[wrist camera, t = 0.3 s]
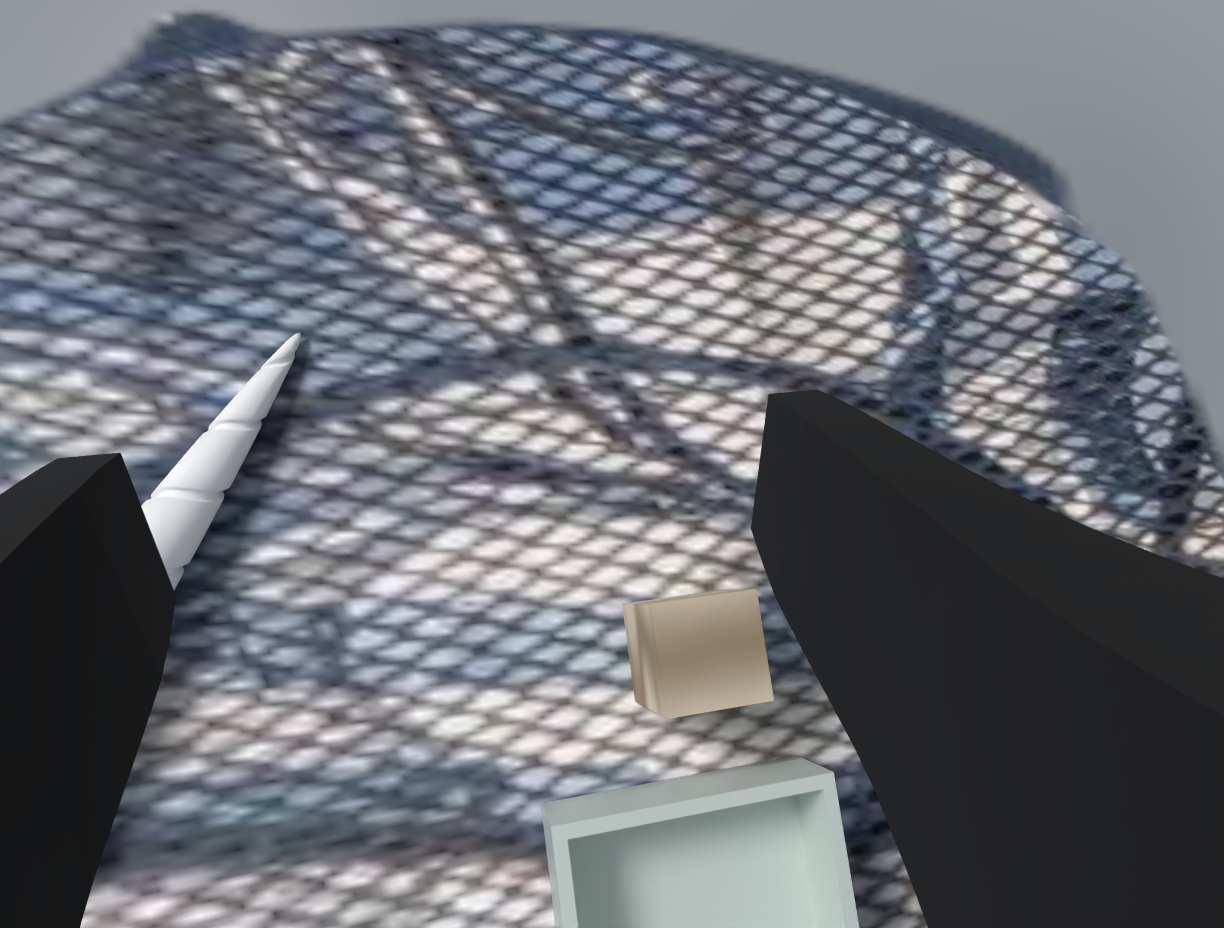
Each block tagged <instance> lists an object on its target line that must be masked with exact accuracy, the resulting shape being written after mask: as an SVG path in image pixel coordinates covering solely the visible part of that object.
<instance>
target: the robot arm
mask: <svg viewBox="0 0 1224 928" xmlns="http://www.w3.org/2000/svg"><path fill="white" fill-rule="evenodd" d="M751 530H752V533H753V536H754V539H755V542H756V545H757V548H758V551H759V554H760V557H761V560H762V563H763V565H764V568H765V571H766V573H767V576H768V579H769V581H770V584H771V587H772V589H773V592H774V595H775V597H776V599H777V601H778V603H779V605H780V607H781V609H782V611H783V613H784V615H785V617H786V619H787V621H788V623H789V625H790V627H791V629H792V631H793V632H794V634H795V636H796V638H797V640H798V642H799V644H800V646H801V648H802V650H803V652H804V654H805V655H806V657H807V659H808V661H809V663H810V665H811V667H812V669H813V670H814V672H815V674H816V676H817V678H818V680H819V682H820V684H821V686H822V687H823V689H824V691H825V693H826V695H827V697H828V699H829V701H830V702H831V704H832V706H833V708H834V710H835V712H836V714H837V716H838V718H839V719H840V721H841V723H842V725H843V727H844V729H845V731H846V733H847V734H848V736H849V738H850V740H851V742H852V744H853V746H854V748H855V750H856V752H857V754H858V756H859V758H860V760H861V762H862V764H863V766H864V768H865V771H866V773H867V775H868V777H869V779H870V781H871V783H872V785H873V788H874V790H875V792H876V795H877V797H878V800H879V802H880V805H881V807H882V810H883V812H884V815H885V817H886V820H887V822H888V825H889V827H890V830H891V832H892V835H893V837H894V840H895V842H896V845H897V847H898V849H899V852H900V854H901V857H902V859H903V862H904V864H905V867H906V870H907V872H908V875H909V878H910V880H911V883H912V886H913V888H914V891H915V893H916V896H917V899H918V901H919V904H920V907H921V909H922V912H923V915H924V917H925V920H926V923H927V925H928V928H1224V578H1221V577H1218V576H1215V575H1212V574H1209V573H1206V572H1203V571H1200V570H1198V569H1195V568H1192V567H1189V566H1186V565H1184V564H1181V563H1178V562H1175V561H1173V560H1170V559H1167V558H1164V557H1162V556H1159V555H1157V554H1154V553H1152V552H1149V551H1147V550H1144V549H1142V548H1139V547H1137V546H1134V545H1132V544H1129V543H1127V542H1124V541H1122V540H1119V539H1117V538H1114V537H1112V536H1109V535H1107V534H1104V533H1102V532H1099V531H1097V530H1094V529H1092V528H1090V527H1087V526H1085V525H1083V524H1080V523H1078V522H1076V521H1074V520H1071V519H1069V518H1067V517H1064V516H1062V515H1060V514H1058V513H1056V512H1054V511H1051V510H1049V509H1047V508H1045V507H1043V506H1041V505H1039V504H1037V503H1035V502H1033V501H1031V500H1029V499H1026V498H1024V497H1022V496H1020V495H1018V494H1016V493H1014V492H1012V491H1010V490H1008V489H1006V488H1004V487H1001V486H999V485H998V484H996V483H994V482H992V481H990V480H988V479H986V478H984V477H982V476H980V475H978V474H976V473H974V472H972V471H970V470H968V469H966V468H965V467H963V466H961V465H959V464H957V463H955V462H953V461H951V460H950V459H948V458H946V457H944V456H942V455H940V454H938V453H937V452H935V451H933V450H931V449H929V448H927V447H926V446H924V445H922V444H920V443H918V442H917V441H915V440H913V439H911V438H909V437H907V436H906V435H904V434H902V433H900V432H898V431H897V430H895V429H893V428H891V427H889V426H888V425H886V424H884V423H882V422H880V421H879V420H877V419H875V418H873V417H871V416H869V415H868V414H866V413H864V412H862V411H860V410H858V409H856V408H855V407H853V406H851V405H849V404H847V403H845V402H843V401H841V400H839V399H837V398H835V397H833V396H831V395H828V394H826V393H824V392H821V391H819V390H808V391H797V392H786V393H775V394H769V395H768V403H767V410H766V418H765V426H764V433H763V441H762V448H761V456H760V463H759V471H758V479H757V486H756V494H755V501H754V509H753V517H752V524H751ZM175 600H176V594H175V592H174V589H173V587H172V584H171V581H170V579H169V576H168V574H167V571H166V569H165V566H164V563H163V561H162V558H161V556H160V553H159V551H158V548H157V545H156V543H155V540H154V538H153V535H152V533H151V530H150V528H149V525H148V522H147V520H146V517H145V515H144V512H143V510H142V507H141V504H140V502H139V499H138V497H137V494H136V492H135V489H134V486H133V484H132V481H131V479H130V476H129V474H128V471H127V468H126V466H125V463H124V461H123V458H122V456H121V453H112V454H101V455H90V456H79V457H68V458H58V459H56V460H54V461H53V462H51V463H49V464H47V465H45V466H44V467H42V468H40V469H39V470H37V471H35V472H34V473H32V474H31V475H29V476H28V477H26V478H24V479H23V480H21V481H20V482H18V483H17V484H15V485H14V486H12V487H11V488H10V489H8V490H7V491H5V492H4V493H2V494H1V495H0V928H80V925H81V921H82V918H83V914H84V911H85V908H86V904H87V901H88V897H89V894H90V891H91V887H92V884H93V880H94V877H95V874H96V871H97V868H98V865H99V862H100V859H101V856H102V853H103V850H104V848H105V845H106V842H107V839H108V836H109V833H110V830H111V827H112V824H113V821H114V818H115V815H116V812H117V810H118V807H119V804H120V801H121V798H122V795H123V792H124V789H125V786H126V783H127V780H128V777H129V775H130V772H131V769H132V766H133V763H134V760H135V757H136V754H137V751H138V748H139V745H140V742H141V739H142V736H143V733H144V730H145V727H146V724H147V721H148V718H149V715H150V712H151V709H152V706H153V703H154V700H155V697H156V694H157V691H158V688H159V685H160V681H161V678H162V674H163V668H164V663H165V658H166V653H167V648H168V643H169V637H170V631H171V625H172V618H173V612H174V606H175Z"/></svg>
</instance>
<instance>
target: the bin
mask: <svg viewBox="0 0 1224 928" xmlns="http://www.w3.org/2000/svg"><path fill="white" fill-rule="evenodd" d="M541 808H542V817H543V825H544V834H545V842H546V851H547V859H548V868H549V876H550V885H551V893H552V902H553V911H554V919H555V928H859V923H858V917H857V911H856V905H855V899H854V893H853V887H852V881H851V874H850V868H849V862H848V856H847V850H846V844H845V838H844V832H843V826H842V820H841V814H840V808H839V802H838V796H837V789H836V783H835V777H834V772H832V771H830V770H828V769H825V768H823V767H821V766H819V765H817V764H814V763H812V762H810V761H808V760H805V759H803V758H801V757H799V756H791V757H786V758H781V759H775V760H770V761H765V762H759V763H754V764H749V765H743V766H738V767H733V768H727V769H722V770H717V771H711V772H706V773H700V774H695V775H690V776H684V777H679V778H674V779H668V780H663V781H658V782H652V783H647V784H642V785H636V786H631V787H626V788H620V789H615V790H610V791H604V792H599V793H593V794H588V795H583V796H577V797H572V798H567V799H561V800H556V801H551V802H545V803H541Z"/></svg>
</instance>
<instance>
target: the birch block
mask: <svg viewBox="0 0 1224 928" xmlns="http://www.w3.org/2000/svg"><path fill="white" fill-rule="evenodd" d="M622 607H623V614H624V622H625V629H626V637H627V644H628V651H629V659H630V666H631V674H632V681H633V689H634V696H635V702H637V703H639V704H640V705H642V706H644V707H646V708H648V709H649V710H651V711H653V712H655V713H657V714H659V715H660V716H662V717H664V718H666V719H670V718H676V717H682V716H688V715H694V714H699V713H705V712H711V711H717V710H723V709H729V708H734V707H740V706H746V705H752V704H758V703H763V702H769V701H774V697H773V691H772V685H771V678H770V672H769V665H768V659H767V653H766V646H765V640H764V634H763V627H762V621H761V614H760V608H759V602H758V595H757V589H745V590H724V591H710V592H703V593H695V594H688V595H681V596H674V597H667V598H660V599H653V600H646V601H639V602H632V603H625V604H622Z"/></svg>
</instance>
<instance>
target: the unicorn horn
mask: <svg viewBox="0 0 1224 928" xmlns="http://www.w3.org/2000/svg"><path fill="white" fill-rule="evenodd" d="M300 340H301V333H297V334H295V335H294V336H292V337H291V338H290V339H289V340H288V341H286V342H285V343H284V344H283V345H282V346H281V347H280V348H279V349H278V350H277V351H276V352H275V353H274V354H273V355H272V356H271V358H270V359H269V360H268V361H267V362H266V363H265V364H264V365H263V366H262V368H261V370H260V371H259V372H257V373H256V374H255V375H254V376H253V377H252V378H251V379H250V380H249V381H248V383H247V384H246V385H245V386H244V387H243V388H242V389H241V391H240V392H239V393H238V394H237V395H236V396H235V397H234V398H233V400H232V401H231V402H230V403H229V404H228V405H227V406H226V408H225V409H224V410H223V411H222V412H221V413H220V414H219V416H218V417H217V418H216V419H215V420H214V421H213V422H212V423H211V425H210V426H209V429H208V432H205V433H203V434H202V435H201V436H200V438H199V439H198V440H197V441H196V442H195V443H194V445H193V446H192V447H191V448H190V449H189V450H188V452H187V453H186V454H185V455H184V456H183V457H182V459H181V460H180V461H179V462H178V463H177V465H176V466H175V467H174V468H173V469H172V470H171V472H170V473H169V474H168V475H167V476H166V477H165V479H164V480H163V481H162V482H161V483H160V485H159V486H158V487H157V488H156V489H155V491H154V492H153V493H152V494H151V499H150V500H147V501H145V502H144V503H143V505H142V506H141V507H142V510H143V512H144V515H145V517H146V520H147V522H148V525H149V528H150V530H151V533H152V535H153V538H154V540H155V543H156V545H157V548H158V551H159V553H160V556H161V558H162V561H163V563H164V566H165V569H166V571H167V574H168V576H169V579H170V581H171V584H172V587H173V589H174V590H175V588H176V586H177V584H178V583H179V581H180V579H181V577H182V575H183V572H184V569H183V567H182V566H184V565H186V564H188V563H190V561H191V559H192V557H193V555H194V554H195V552H196V550H197V548H198V546H199V545H200V543H201V541H202V539H203V537H204V535H205V533H206V531H207V530H208V528H209V526H210V524H211V522H212V520H213V518H214V516H215V515H216V513H217V511H218V509H219V507H220V505H221V503H222V501H223V499H224V493H223V491H224V490H226V489H228V488H230V486H231V484H232V482H233V481H234V479H235V477H236V475H237V473H238V471H239V469H240V467H241V465H242V463H243V461H244V459H245V458H246V456H247V454H248V452H249V450H250V448H251V446H252V444H253V442H254V440H255V438H256V436H257V434H258V432H259V430H260V428H261V425H262V424H261V419H263V418H265V417H266V416H267V414H268V412H269V410H270V408H271V406H272V404H273V402H274V400H275V398H276V396H277V394H278V392H279V390H280V388H281V385H282V383H283V381H284V379H285V377H286V375H287V373H288V371H289V369H290V367H291V364H292V362H293V360H294V358H295V351H296V350H297V348H298V346H299V343H300Z"/></svg>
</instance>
